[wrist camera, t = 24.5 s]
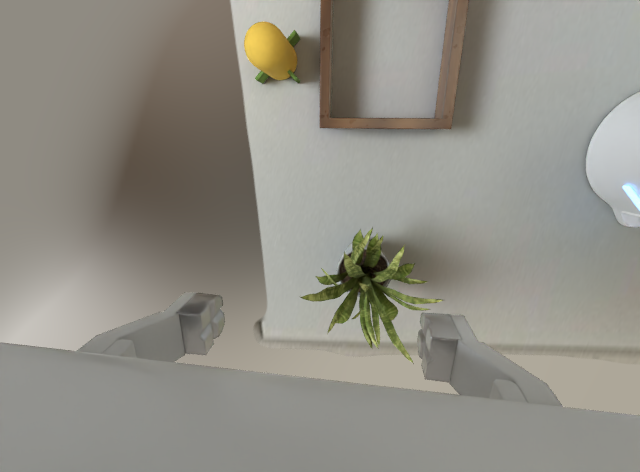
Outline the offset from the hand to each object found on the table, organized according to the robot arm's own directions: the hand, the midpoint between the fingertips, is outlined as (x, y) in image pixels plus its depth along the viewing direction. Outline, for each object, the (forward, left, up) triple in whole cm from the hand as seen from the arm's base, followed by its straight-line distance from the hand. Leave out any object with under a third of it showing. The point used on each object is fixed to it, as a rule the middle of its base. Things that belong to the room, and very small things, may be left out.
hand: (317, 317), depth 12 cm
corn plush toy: (+9, -16, -32) cm, 36 cm away
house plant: (-4, +10, -32) cm, 34 cm away
